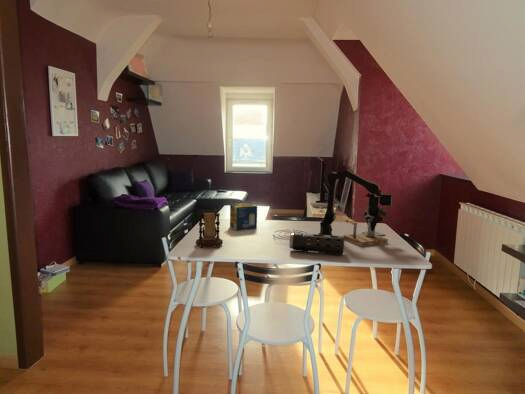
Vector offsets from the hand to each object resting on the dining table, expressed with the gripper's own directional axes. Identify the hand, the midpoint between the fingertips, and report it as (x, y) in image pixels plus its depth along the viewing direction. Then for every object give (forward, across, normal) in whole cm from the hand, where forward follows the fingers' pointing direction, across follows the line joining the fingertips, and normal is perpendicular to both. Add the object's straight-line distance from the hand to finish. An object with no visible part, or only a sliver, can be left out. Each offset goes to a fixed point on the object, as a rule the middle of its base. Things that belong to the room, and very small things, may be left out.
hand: (371, 230), depth 225 cm
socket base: (+6, -1, +4) cm, 8 cm away
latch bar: (+4, +5, +12) cm, 13 cm away
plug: (+4, 0, 0) cm, 4 cm away
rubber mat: (+6, +15, -7) cm, 18 cm away
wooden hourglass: (+7, -12, +96) cm, 97 cm away
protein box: (+7, +29, +76) cm, 82 cm away
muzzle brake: (+7, -24, +38) cm, 46 cm away
